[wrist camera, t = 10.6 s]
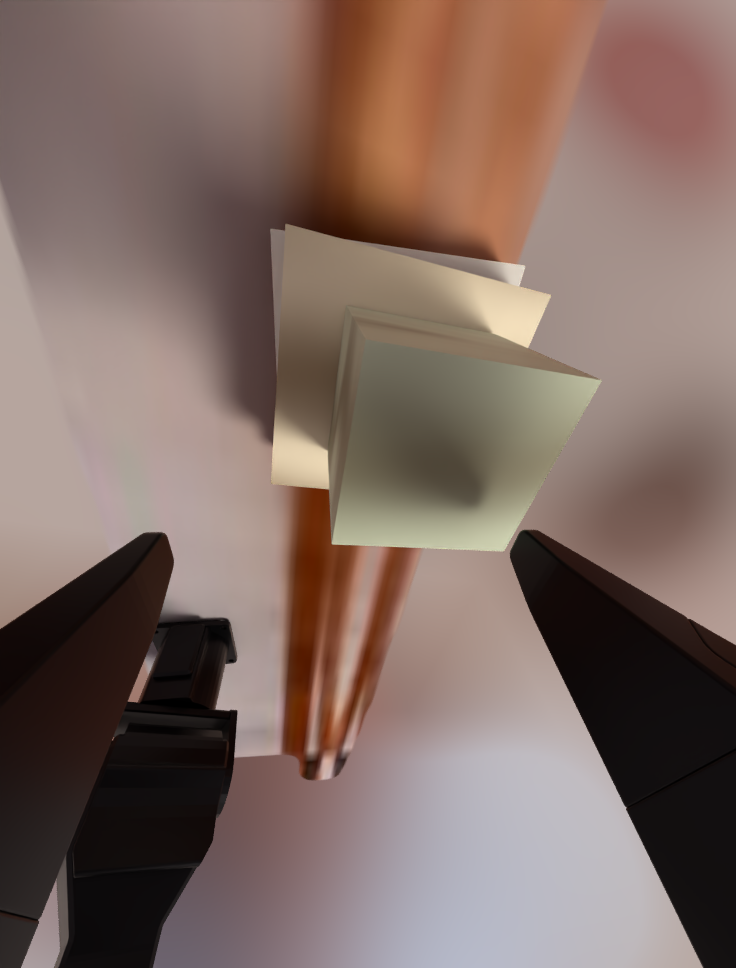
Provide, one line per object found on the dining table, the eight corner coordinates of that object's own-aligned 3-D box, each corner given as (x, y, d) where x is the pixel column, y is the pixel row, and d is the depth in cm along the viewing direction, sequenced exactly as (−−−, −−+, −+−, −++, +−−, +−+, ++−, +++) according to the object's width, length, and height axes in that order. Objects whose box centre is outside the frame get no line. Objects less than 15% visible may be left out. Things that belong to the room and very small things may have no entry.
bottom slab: (444, 451, 23) (460, 473, 21) (284, 445, 21) (280, 469, 19) (495, 264, 17) (525, 265, 15) (277, 233, 15) (270, 228, 13)
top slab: (442, 471, 20) (459, 501, 18) (276, 453, 18) (271, 483, 16) (512, 289, 15) (551, 295, 13) (290, 230, 13) (285, 223, 10)
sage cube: (448, 462, 16) (503, 551, 11) (327, 450, 15) (331, 544, 10) (495, 334, 13) (602, 380, 8) (346, 305, 12) (365, 339, 7)
